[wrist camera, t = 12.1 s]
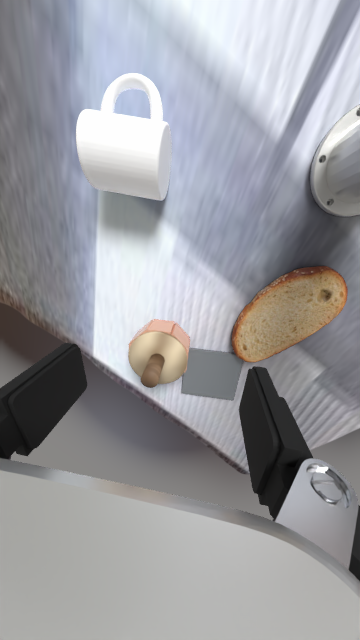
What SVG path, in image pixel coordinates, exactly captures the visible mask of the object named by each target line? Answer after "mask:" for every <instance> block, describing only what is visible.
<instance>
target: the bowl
mask: <svg viewBox="0 0 360 640" xmlns="http://www.w3.org/2000/svg"><path fill="white" fill-rule="evenodd" d="M151 331H160V332H165V333H168V334H170V335H172V336H174V337H175V338H176V339H178V340H179V341H180V342H181V343H182V345H183V346H184V348H185V350H186V353H187V362H188V354H189V345H190V339H189V336H188V335H187V334H186V333H185V332H184V330H183V329H182V328H181V327H180V326H179V325H178V324H177V323H175V324H174V321H165V320H157V319H154V321H153V320H151V321H150V322H149V323H148V324H146V325H145V326H144V327H143V328H142V329H140V330H139V331H138V332H137V334H136V335H135V336H134V338H133V339H132V340H131V342H130V344H129V349H130V346H131V345H132V343H133V342H134V340H135V339H136V338H137V337H139V336H140V335H142V334H144V333H147V332H151ZM186 370H187V366H186V369H185V371H186ZM185 371H184V373H185Z"/></svg>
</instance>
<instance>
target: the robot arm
mask: <svg viewBox="0 0 360 640" xmlns="http://www.w3.org/2000/svg"><path fill="white" fill-rule="evenodd" d="M319 160H320V162H319ZM310 186H311V191H312V194H313V197H314V199H315V201H316V202H317V204H318V205H319V206H320V208H322V209H323V210H324V211H326V212H327V213H330V214H332V215H335V216H340V217H349V216H355V215H360V104H359V105H357V106H356V107H354V108H353V109H352V110H350V111H349V112H348V113H346V114H345V115H344V116H343V117H342V118H341V119H340V120H338V121H337V122H336V123H335V125H334V126H333V127H332V128H331V129H330V130H329V131H328V133H327V134H326V136H325V137H324V139H323V140H322V142H321V143H320V145H319V147H318V149H317V151H316V153H315V156H314V160H313V163H312V167H311V173H310ZM327 202H328V204H327ZM86 387H87V381H86V375H85V371H84V366H83V361H82V356H81V351H80V348H79V347H78V346H77V345H76V344H71V343H64V344H63V345H61V346H60V347H58V348H57V349H55V350H54V351H53V352H52V353H50V354H48V355H47V356H45V357H44V358H43V359H41V360H40V361H39V362H37V363H36V364H34V365H33V366H31V367H30V368H29V369H27V370H26V371H24V372H23V373H21V374H20V375H19V376H17V377H16V378H14V379H13V380H12V381H10V382H9V383H7V384H6V385H4V386H3V387H2V388H0V640H360V506H359V505H358V498H357V496H356V493H355V491H354V489H353V488H352V486H351V485H350V483H349V482H348V481H347V480H346V478H345V477H344V476H343V475H342V474H341V473H340V472H339V471H338V470H336V469H335V468H334V467H333V466H331V465H329V464H328V463H326V462H324V461H321V460H318V459H313V457H312V454H311V452H310V450H309V448H308V446H307V444H306V442H305V440H304V438H303V436H302V434H301V432H300V430H299V427H298V425H297V423H296V421H295V419H294V417H293V415H292V413H291V411H290V409H289V407H288V405H287V403H286V401H285V399H284V398H282V397H279V396H278V393H277V391H276V389H275V387H274V385H273V382H272V380H271V378H270V376H269V373H268V371H267V369H266V368H263V367H255V366H254V367H253V368H252V369H249V370H248V374H247V378H246V382H245V386H244V390H243V395H242V399H241V403H240V407H239V414H240V420H241V426H242V431H243V437H244V443H245V448H246V454H247V460H248V465H249V471H250V477H251V482H252V488H253V491H254V493H257V494H258V497H259V502H260V504H261V505H266V506H268V507H269V511H270V515H271V516H272V517H273V520H272V521H271V520H269V519H266V518H264V517H261V516H257V515H254V514H250V513H247V512H244V511H241V510H237V509H232V508H228V507H224V506H220V505H216V504H212V503H208V502H204V501H199V500H195V499H191V498H186V497H182V496H177V495H173V494H168V493H163V492H159V491H154V490H150V489H145V488H140V487H135V486H131V485H127V484H122V483H117V482H113V481H108V480H103V479H98V478H94V477H89V476H84V475H80V474H75V473H70V472H65V471H61V470H55V469H51V468H46V467H41V466H37V465H31V464H27V463H22V462H17V461H12V460H10V459H11V455H12V454H13V453H14V452H15V451H16V453H17V454H20V455H24V456H28V455H29V454H30V452H31V451H32V450H33V449H34V448H37V447H38V446H39V445H40V444H41V443H42V441H43V440H44V439H45V438H46V437H47V435H48V434H49V433H50V432H51V431H52V429H53V428H54V427H55V426H56V425H57V423H58V422H59V421H60V420H61V419H62V417H63V416H64V415H65V414H66V412H67V411H68V410H69V409H70V407H71V406H72V405H73V404H74V403H75V402H76V401H77V399H78V398H79V397H80V396H81V394H82V393H83V392H84V391H85V389H86Z"/></svg>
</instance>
